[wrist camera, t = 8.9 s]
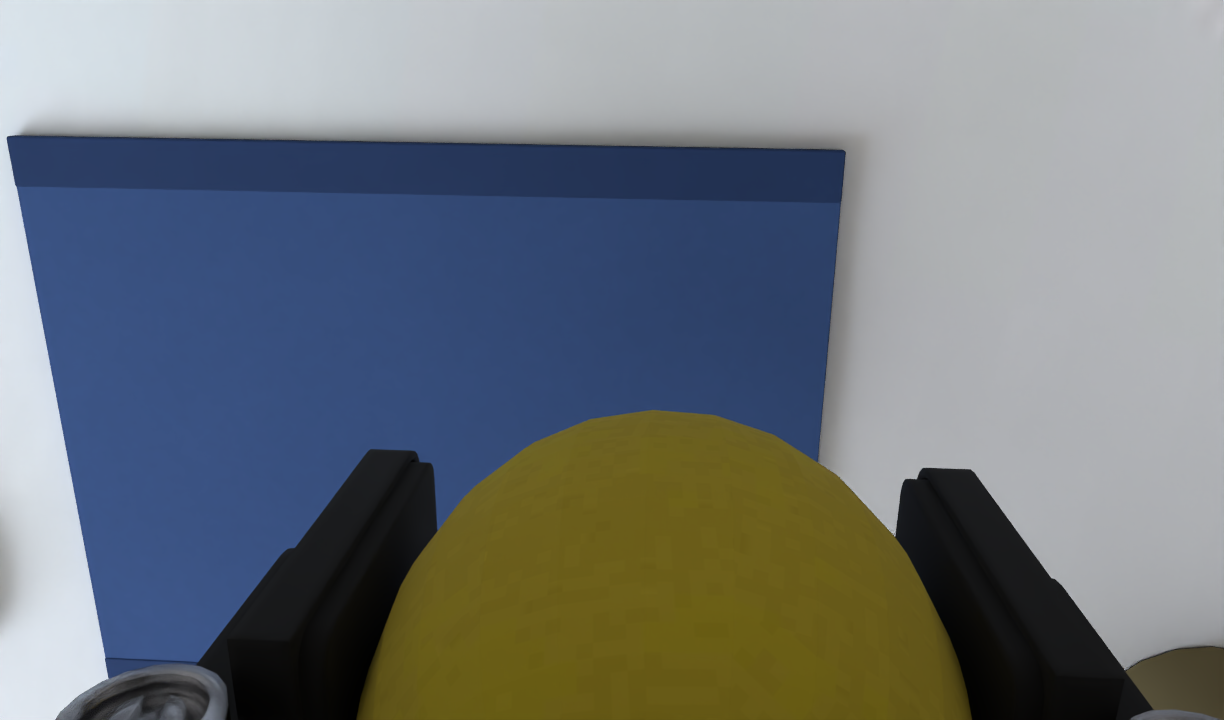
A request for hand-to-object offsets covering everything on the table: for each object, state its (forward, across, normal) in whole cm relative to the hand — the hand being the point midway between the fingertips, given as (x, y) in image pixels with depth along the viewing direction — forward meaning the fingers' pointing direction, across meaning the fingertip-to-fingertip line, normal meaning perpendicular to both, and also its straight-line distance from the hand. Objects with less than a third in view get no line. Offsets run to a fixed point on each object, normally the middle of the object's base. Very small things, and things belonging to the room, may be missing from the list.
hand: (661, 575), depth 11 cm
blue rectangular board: (+12, +6, +4) cm, 14 cm away
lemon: (+2, 0, 0) cm, 2 cm away
